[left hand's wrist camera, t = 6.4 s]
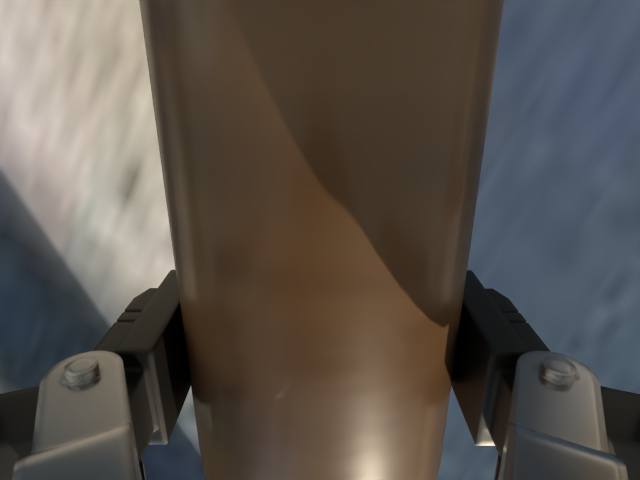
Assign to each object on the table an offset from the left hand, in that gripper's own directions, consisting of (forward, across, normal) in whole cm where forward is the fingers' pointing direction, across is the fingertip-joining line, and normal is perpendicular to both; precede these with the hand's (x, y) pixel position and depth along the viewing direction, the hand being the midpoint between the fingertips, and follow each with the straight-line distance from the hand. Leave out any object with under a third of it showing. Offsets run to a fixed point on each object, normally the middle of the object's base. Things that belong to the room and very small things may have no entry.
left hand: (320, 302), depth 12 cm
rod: (+2, 0, -10) cm, 10 cm away
